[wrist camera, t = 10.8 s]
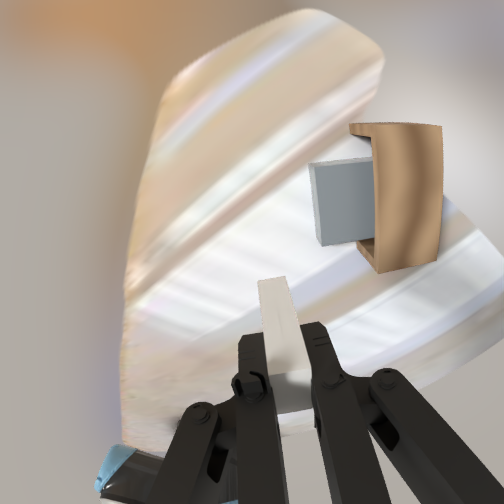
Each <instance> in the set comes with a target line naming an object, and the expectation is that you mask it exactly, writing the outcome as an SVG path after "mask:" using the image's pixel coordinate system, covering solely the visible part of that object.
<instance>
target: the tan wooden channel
mask: <svg viewBox="0 0 504 504" xmlns="http://www.w3.org/2000/svg"><path fill="white" fill-rule="evenodd" d="M349 127H350V134H354V135H361V136H368V137H371V144H372V157H373V172H374V196H375V237H374V238H369V239H363V240H357V249H358V250H359V251H360V252H361V254H362V255H363V256H364V257H365V258H366V260H367V261H368V262H369V263H370V265H371V266H372V267H373V268H374V270H375V271H376V272H377V274H380V273H385V272H389V271H394V270H398V269H403V268H407V267H412V266H416V265H421V264H425V263H429V262H433V261H436V260H437V253H438V245H439V237H440V227H441V215H442V200H443V138H442V126H437V125H429V124H418V123H400V122H396V123H394V122H392V123H391V122H388V123H353V124H349Z"/></svg>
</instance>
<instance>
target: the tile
mask: <svg viewBox="0 0 504 504" xmlns="http://www.w3.org/2000/svg"><path fill="white" fill-rule="evenodd" d="M308 165H309V173H310V181H311V190H312V198H313V208H314V218H315V228H316V238H317V239H318V241H319V243H320V244H321V246H322V247H323V246H329V245H334V244H340V243H346V242H352V241H357V240H363V239H369V238H374V237H375V196H374V172H373V157H364V158H353V159H344V160H334V161H326V162H318V163H310V164H308Z"/></svg>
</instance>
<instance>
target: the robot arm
mask: <svg viewBox="0 0 504 504" xmlns="http://www.w3.org/2000/svg"><path fill="white" fill-rule="evenodd" d="M257 283H258V291H259V300H260V308H261V317H262V325H263V332H261V333H255V334H248V335H243V336H242V338H241V339H240V341H239V343H238V353H239V354H238V359H239V361H238V368H239V373H237V374H236V375H235V376H234V378H233V379H232V382H231V386H232V388H233V391H234V394H235V395H234V396H233V397H232V398H231V399H229V400H227V401H225V402H223V403H220V404H217V405H212V404H211V403H207V402H198V403H195V404H192V405H191V406H189V407H188V408H187V409H186V411H185V412H184V414H183V416H182V418H181V420H180V421H179V422H178V425H177V430H176V433H175V435H174V437H173V440H172V442H171V444H170V447H169V449H168V451H167V454H166V456H165V458H162V457H159V456H155V455H152V454H149V453H146V452H143V451H140V450H138V449H137V448H135V449H134V448H130V447H127V446H124V445H119V444H117V445H114V446H112V447H111V448H110V450H109V452H108V453H107V456H106V457H105V460H104V462H103V464H102V466H101V469H100V471H99V474H98V477H97V480H96V482H95V486H94V488H95V490H97V491H98V492H99V493H101V497H100V502H101V503H102V504H289V498H288V490H287V482H286V475H285V468H284V460H283V452H282V444H281V436H280V429H279V423H278V417H277V415H278V414H284V413H290V412H296V411H301V410H306V409H311V408H313V409H314V420H315V428H317V433H318V437H319V442H320V446H321V451H322V456H323V461H324V465H325V470H326V475H327V480H328V485H329V489H330V494H331V499H332V504H392V503H391V500H390V497H389V494H388V490H387V487H386V484H385V480H384V477H383V474H382V471H381V468H380V465H379V461H378V458H377V455H376V453H375V449H374V446H373V444H372V440H371V437H370V435H369V432H370V433H371V435H372V436H373V437H374V439H375V440H376V442H377V443H378V444H379V446H380V447H381V448H382V450H383V451H384V453H385V454H386V456H387V457H388V458H389V460H390V461H391V462H392V464H393V465H394V467H395V468H396V470H397V471H398V472H399V473H400V475H401V477H402V478H403V479H404V481H405V482H406V484H407V485H408V486H409V488H410V489H411V490H412V492H413V493H414V495H415V496H416V497H417V499H418V500H419V502H420V503H421V504H504V488H503V487H502V485H501V484H500V483H499V482H498V481H497V480H496V478H495V477H494V476H493V475H492V474H491V472H490V471H489V470H488V469H487V468H486V467H485V465H484V464H483V463H482V462H481V461H480V460H479V459H478V457H477V456H476V455H475V454H474V453H473V452H472V451H471V450H470V448H469V447H468V446H467V445H466V444H465V443H464V442H463V440H462V439H461V438H460V437H459V436H458V435H457V434H456V432H454V430H453V429H452V428H451V427H450V426H449V425H448V424H447V422H446V421H445V420H444V419H443V418H442V417H441V416H440V415H439V414H438V413H437V411H436V410H435V409H434V408H433V407H432V406H431V405H430V404H429V403H428V402H427V401H426V400H425V399H424V397H423V396H422V395H421V394H420V393H419V392H418V391H417V390H416V389H415V388H414V386H413V385H412V384H411V383H410V382H409V381H408V380H407V379H406V378H405V377H404V376H403V375H402V374H401V373H400V372H399V371H397V370H395V369H392V368H383V369H380V370H378V371H376V372H375V373H374V374H373V375H372V377H355V376H352V375H349V374H347V373H346V372H345V371H344V370H343V369H342V368H341V366H340V363H339V361H338V358H337V355H336V353H335V350H334V347H333V345H332V343H331V340H330V337H329V335H328V332H327V329H326V327H325V326H323V325H322V324H321V323H320V322H319V321H318V322H313V323H308V324H303V325H299V322H298V318H297V315H296V311H295V308H294V305H293V301H292V298H291V294H290V291H289V287H288V284H287V281H286V277H285V276H282V277H277V278H271V279H265V280H259V281H257ZM368 430H369V432H368Z"/></svg>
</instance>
